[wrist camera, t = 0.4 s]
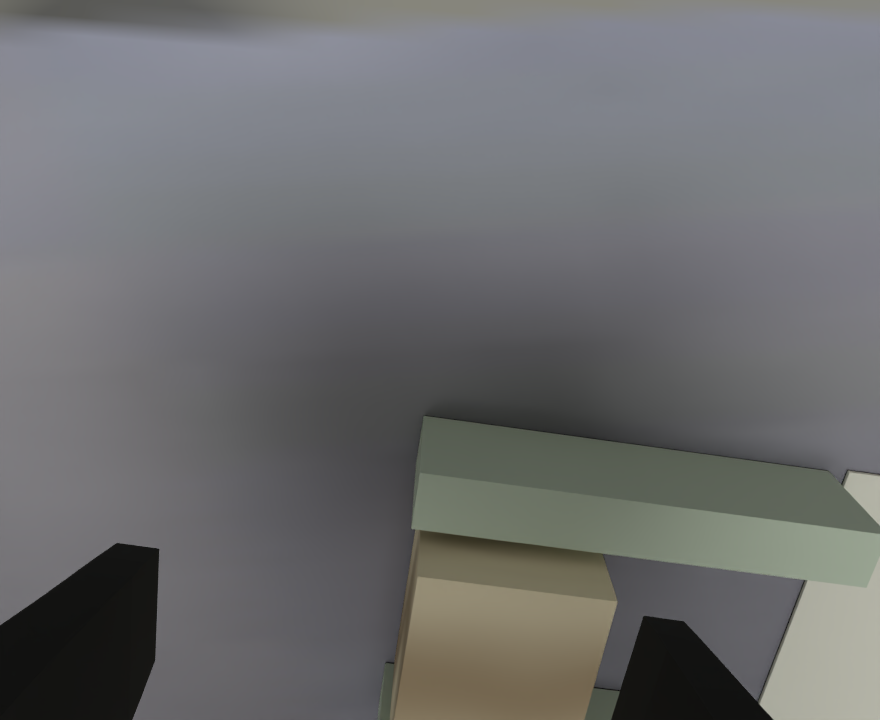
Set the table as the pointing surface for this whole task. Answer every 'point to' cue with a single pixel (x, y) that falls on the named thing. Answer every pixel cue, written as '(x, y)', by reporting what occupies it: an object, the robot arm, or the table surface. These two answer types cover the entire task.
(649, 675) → the robot arm
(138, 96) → the table surface
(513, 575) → the birch block
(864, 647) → the mat
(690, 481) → the rails
